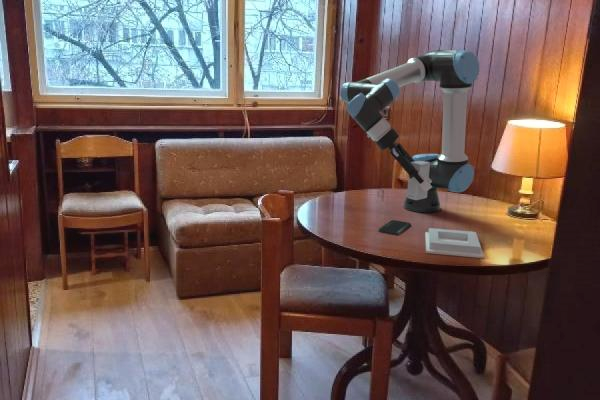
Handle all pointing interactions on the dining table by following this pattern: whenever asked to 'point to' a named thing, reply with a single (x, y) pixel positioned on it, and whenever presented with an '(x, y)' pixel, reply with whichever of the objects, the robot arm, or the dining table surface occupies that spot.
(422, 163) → the skincare box
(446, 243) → the socket stand
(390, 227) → the phone
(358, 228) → the dining table surface
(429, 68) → the robot arm
